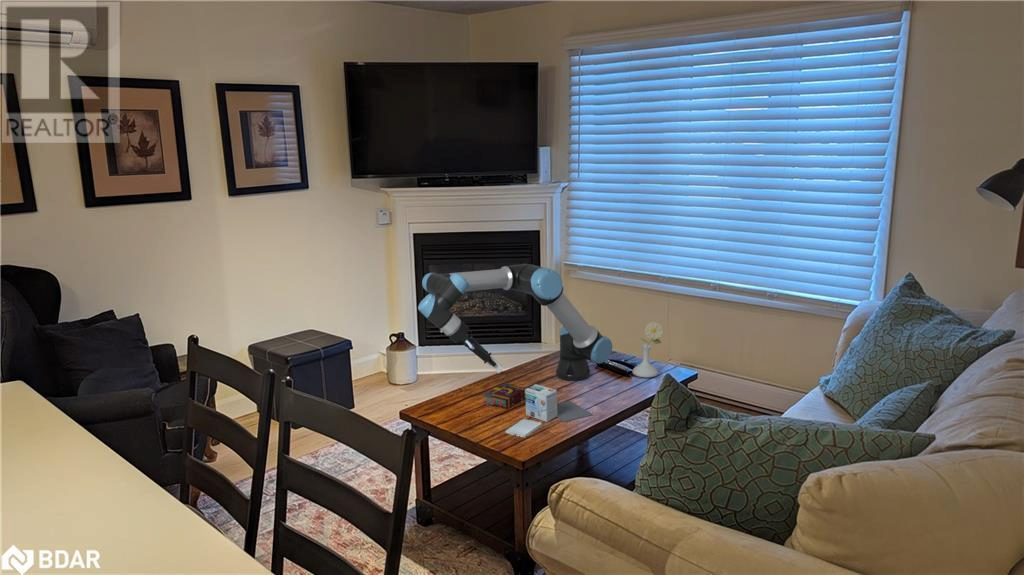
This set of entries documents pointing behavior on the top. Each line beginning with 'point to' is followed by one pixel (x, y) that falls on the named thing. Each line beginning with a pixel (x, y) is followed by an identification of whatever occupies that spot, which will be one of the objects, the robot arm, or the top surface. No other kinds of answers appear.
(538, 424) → the hard drive
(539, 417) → the light bulb box
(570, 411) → the felt mat
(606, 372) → the top surface
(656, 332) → the flower in vase
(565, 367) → the robot arm
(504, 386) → the decorative book
